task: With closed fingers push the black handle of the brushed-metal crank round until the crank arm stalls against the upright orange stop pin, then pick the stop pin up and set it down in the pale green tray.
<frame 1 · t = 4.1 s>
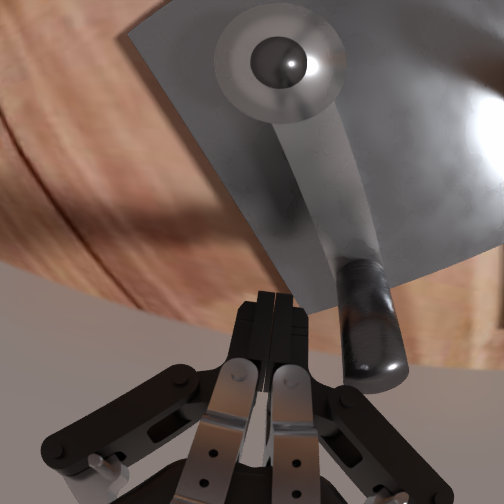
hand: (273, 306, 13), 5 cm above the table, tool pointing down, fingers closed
crank: (343, 231, 10), point 5 cm above the table, hinge at -4.8°, touching gripper
crank base: (424, 98, 12), on the table
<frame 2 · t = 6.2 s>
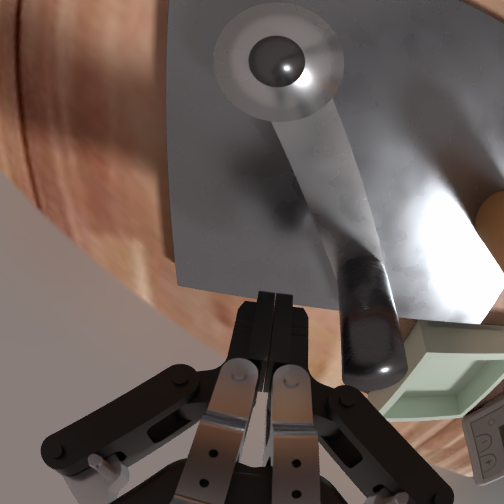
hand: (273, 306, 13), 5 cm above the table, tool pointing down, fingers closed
crank: (342, 228, 11), point 5 cm above the table, hinge at 29.1°, touching gripper
tray: (442, 365, 22), on the table
stop pin: (498, 217, 13), point 2 cm above the table, touching crank base
crank base: (386, 160, 14), on the table
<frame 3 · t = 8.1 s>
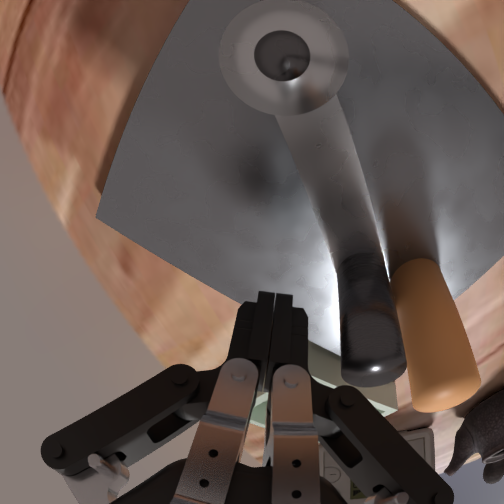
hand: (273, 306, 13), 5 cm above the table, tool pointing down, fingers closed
digital clock: (375, 439, 34), on the table
crank: (344, 222, 11), point 5 cm above the table, hinge at 55.6°, touching gripper
tray: (312, 388, 27), on the table
stop pin: (416, 280, 16), point 2 cm above the table, touching crank base
teapot: (491, 411, 28), on the table
crank base: (335, 184, 15), on the table
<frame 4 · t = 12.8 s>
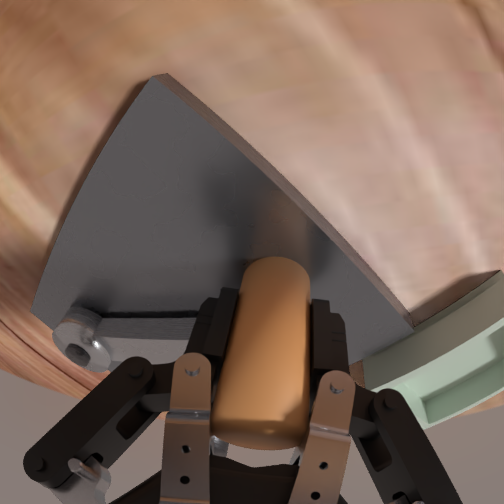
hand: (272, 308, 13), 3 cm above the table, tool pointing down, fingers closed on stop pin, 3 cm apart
crank: (144, 379, 15), point 5 cm above the table, hinge at 55.7°
tray: (455, 351, 19), on the table
stop pin: (276, 283, 15), point 1 cm above the table, touching crank base, gripper
crank base: (185, 312, 19), on the table
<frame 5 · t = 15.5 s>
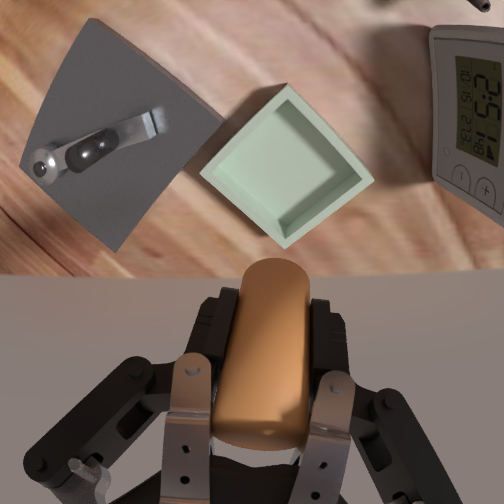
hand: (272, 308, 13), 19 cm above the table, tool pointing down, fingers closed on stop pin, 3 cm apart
digital clock: (452, 105, 22), on the table
crank: (68, 157, 25), point 5 cm above the table, hinge at 55.7°
tray: (287, 163, 29), on the table
stop pin: (275, 285, 15), point 17 cm above the table, touching gripper
crank base: (102, 140, 29), on the table
when the fingers open (4 cm above the table, at t = 18.5 s): stop pin drops 1 cm, resting on tray.
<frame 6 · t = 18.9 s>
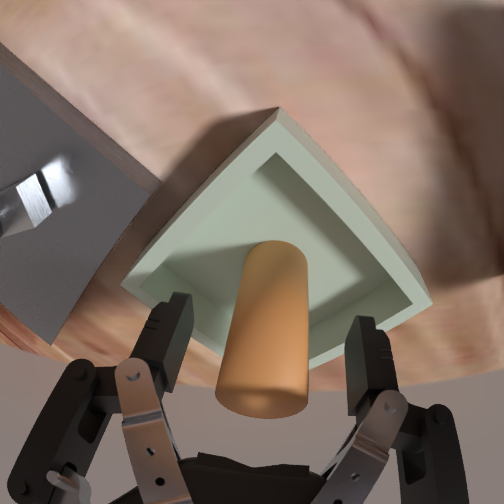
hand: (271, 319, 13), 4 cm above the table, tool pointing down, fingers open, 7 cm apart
tray: (278, 259, 16), on the table
stop pin: (276, 266, 16), point 1 cm above the table, touching tray
crank base: (3, 207, 17), on the table
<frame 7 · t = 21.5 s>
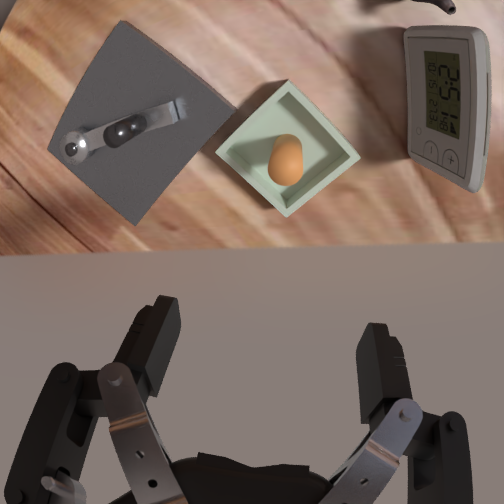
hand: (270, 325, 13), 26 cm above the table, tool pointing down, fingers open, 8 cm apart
digital clock: (425, 93, 28), on the table
crank: (101, 138, 30), point 5 cm above the table, hinge at 55.7°
tray: (288, 145, 34), on the table
stop pin: (287, 147, 33), point 1 cm above the table, touching tray
crank base: (128, 126, 34), on the table
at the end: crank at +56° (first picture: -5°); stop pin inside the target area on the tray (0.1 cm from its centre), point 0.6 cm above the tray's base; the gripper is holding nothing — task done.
